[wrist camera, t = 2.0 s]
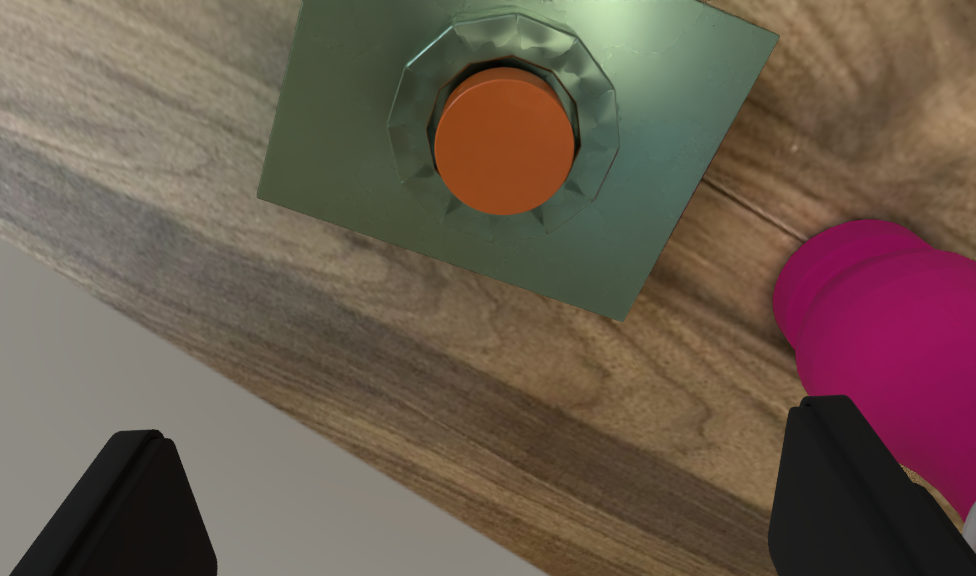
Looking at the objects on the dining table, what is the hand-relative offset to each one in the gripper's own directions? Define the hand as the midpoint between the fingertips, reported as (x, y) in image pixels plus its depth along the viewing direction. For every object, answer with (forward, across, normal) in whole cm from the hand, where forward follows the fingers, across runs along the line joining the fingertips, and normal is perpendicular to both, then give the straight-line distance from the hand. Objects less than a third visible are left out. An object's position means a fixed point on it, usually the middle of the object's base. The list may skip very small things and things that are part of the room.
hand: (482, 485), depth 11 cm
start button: (+13, -1, -2) cm, 13 cm away
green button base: (+17, -1, -2) cm, 17 cm away
